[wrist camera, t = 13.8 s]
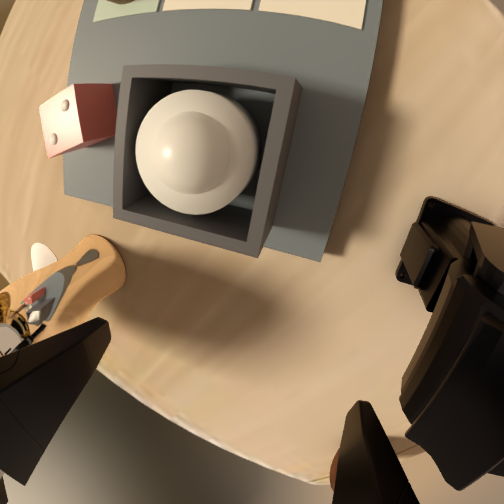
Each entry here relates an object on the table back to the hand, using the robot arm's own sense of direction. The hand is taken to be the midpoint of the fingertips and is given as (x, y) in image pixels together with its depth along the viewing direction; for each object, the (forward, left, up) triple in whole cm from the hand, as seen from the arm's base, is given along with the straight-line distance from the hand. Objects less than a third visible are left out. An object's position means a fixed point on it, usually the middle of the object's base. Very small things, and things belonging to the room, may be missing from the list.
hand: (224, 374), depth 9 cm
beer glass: (+16, +8, -13) cm, 22 cm away
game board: (+8, -10, -13) cm, 18 cm away
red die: (+15, -6, -12) cm, 20 cm away
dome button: (+5, -5, -10) cm, 12 cm away
